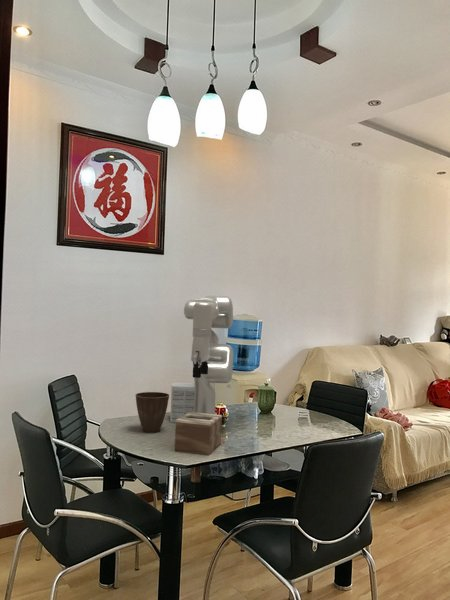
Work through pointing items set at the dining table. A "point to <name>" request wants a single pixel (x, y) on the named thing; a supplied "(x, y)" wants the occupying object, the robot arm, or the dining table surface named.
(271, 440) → the dining table surface
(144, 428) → the plant pot
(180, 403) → the supplement box
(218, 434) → the box with rectangular opening
